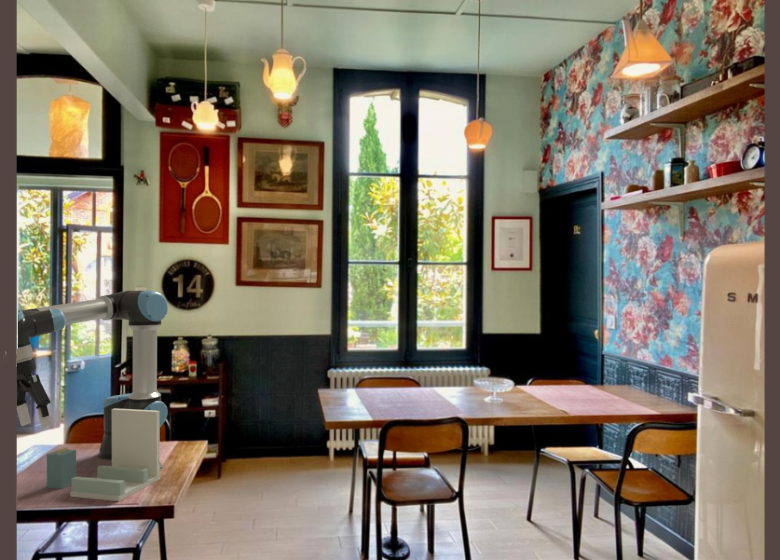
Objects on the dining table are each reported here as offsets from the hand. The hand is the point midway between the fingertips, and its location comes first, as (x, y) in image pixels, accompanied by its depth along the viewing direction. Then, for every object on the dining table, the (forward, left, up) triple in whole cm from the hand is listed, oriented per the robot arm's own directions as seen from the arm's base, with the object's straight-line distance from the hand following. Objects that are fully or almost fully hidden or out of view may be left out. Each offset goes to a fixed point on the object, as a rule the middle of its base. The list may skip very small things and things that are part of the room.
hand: (36, 425), depth 173 cm
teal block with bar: (-12, -2, -23) cm, 26 cm away
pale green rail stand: (-14, +18, -23) cm, 32 cm away
